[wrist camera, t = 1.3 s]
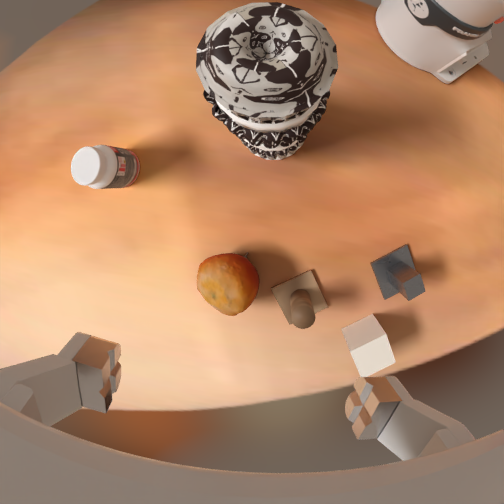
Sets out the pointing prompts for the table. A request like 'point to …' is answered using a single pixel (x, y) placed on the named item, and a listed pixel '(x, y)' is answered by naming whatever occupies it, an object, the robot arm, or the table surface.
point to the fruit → (228, 282)
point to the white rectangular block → (368, 345)
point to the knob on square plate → (300, 299)
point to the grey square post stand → (398, 274)
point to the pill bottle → (105, 167)
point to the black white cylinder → (267, 75)
